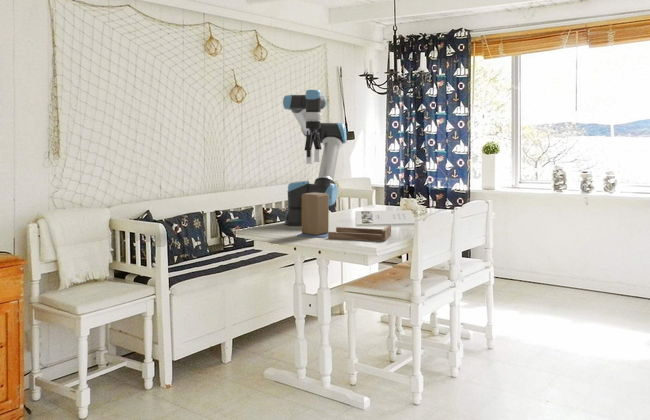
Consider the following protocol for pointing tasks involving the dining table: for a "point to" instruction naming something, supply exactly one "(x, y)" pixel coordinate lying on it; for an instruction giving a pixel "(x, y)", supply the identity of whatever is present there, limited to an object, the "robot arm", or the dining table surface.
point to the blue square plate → (314, 235)
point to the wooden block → (315, 213)
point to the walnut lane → (361, 234)
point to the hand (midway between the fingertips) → (313, 162)
